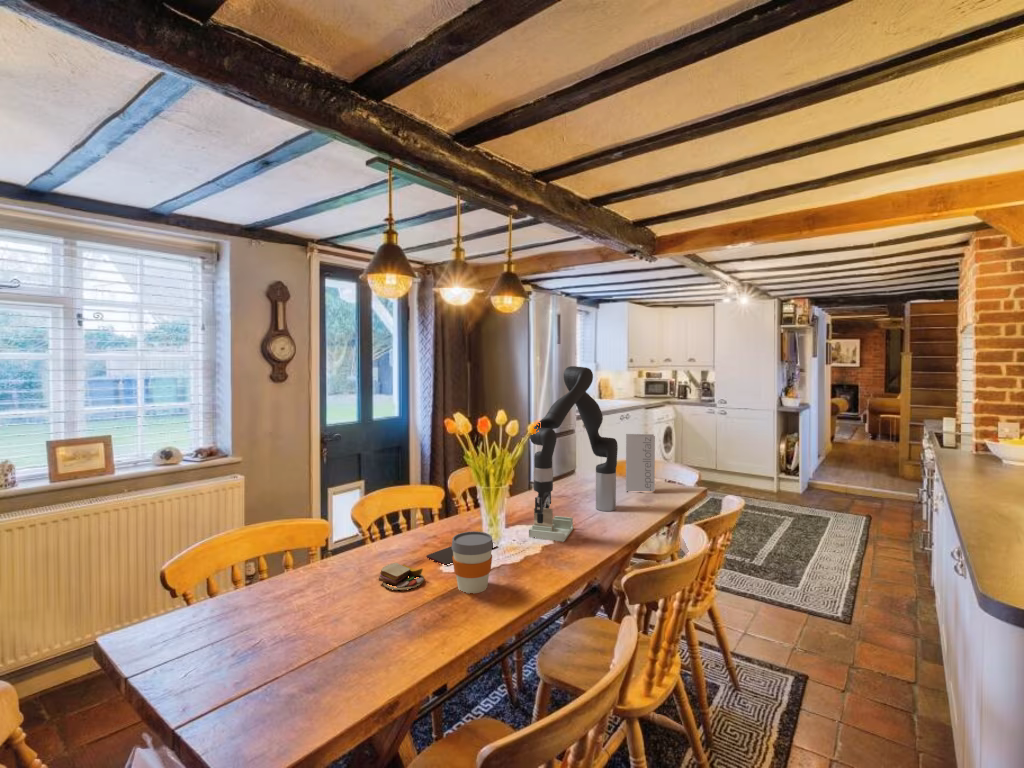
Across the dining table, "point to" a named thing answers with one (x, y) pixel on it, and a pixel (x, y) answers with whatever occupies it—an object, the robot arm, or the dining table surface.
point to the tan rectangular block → (545, 518)
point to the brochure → (640, 462)
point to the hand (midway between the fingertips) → (543, 519)
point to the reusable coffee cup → (472, 560)
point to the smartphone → (442, 556)
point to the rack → (560, 529)
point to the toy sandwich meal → (400, 576)
